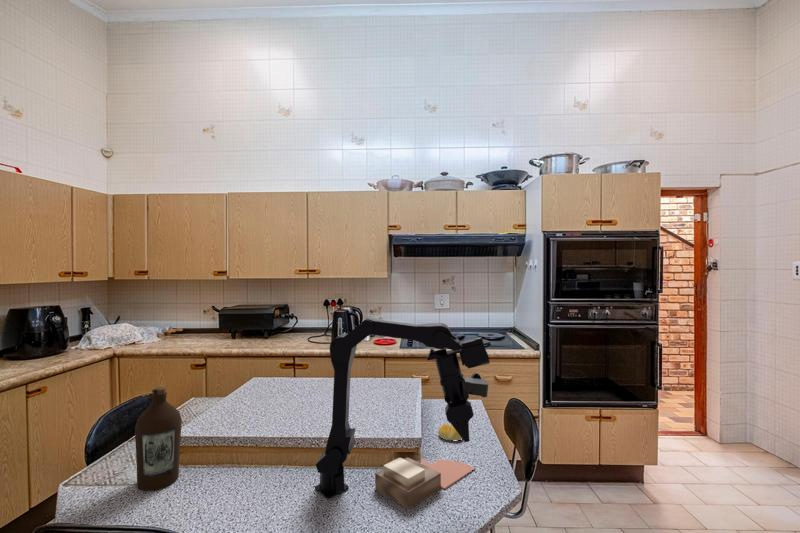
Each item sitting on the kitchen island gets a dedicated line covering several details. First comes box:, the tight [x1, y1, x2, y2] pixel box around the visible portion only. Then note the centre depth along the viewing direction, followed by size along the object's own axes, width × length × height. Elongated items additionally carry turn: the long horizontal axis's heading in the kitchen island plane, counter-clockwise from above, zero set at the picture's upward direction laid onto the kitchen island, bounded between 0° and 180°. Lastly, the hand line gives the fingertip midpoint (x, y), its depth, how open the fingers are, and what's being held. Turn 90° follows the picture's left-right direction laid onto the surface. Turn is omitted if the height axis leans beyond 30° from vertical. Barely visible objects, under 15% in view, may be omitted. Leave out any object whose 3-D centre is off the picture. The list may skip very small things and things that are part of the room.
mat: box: [421, 457, 476, 490], centre depth 106 cm, size 14×14×1 cm
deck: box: [374, 457, 442, 510], centre depth 97 cm, size 12×12×4 cm
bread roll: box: [437, 423, 462, 441], centre depth 128 cm, size 8×9×4 cm
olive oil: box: [134, 386, 183, 492], centre depth 101 cm, size 11×11×25 cm
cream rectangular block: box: [382, 457, 425, 487], centre depth 96 cm, size 9×6×2 cm, turn 45°
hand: (465, 433), depth 94 cm, fingers open, 9 cm apart
